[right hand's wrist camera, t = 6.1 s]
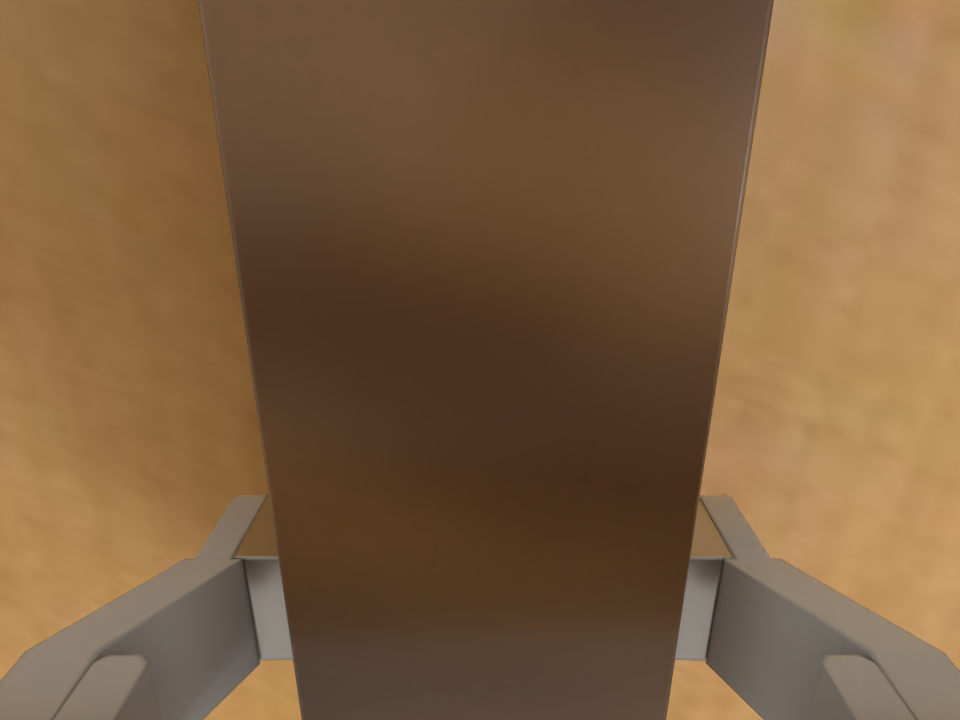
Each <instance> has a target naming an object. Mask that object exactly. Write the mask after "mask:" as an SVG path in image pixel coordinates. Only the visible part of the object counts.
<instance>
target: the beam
mask: <svg viewBox="0 0 960 720" xmlns="http://www.w3.org/2000/svg"><path fill="white" fill-rule="evenodd" d="M773 1H774V0H198V3H199V10H200V17H201V24H202V31H203V38H204V45H205V52H206V59H207V66H208V73H209V80H210V86H211V93H212V100H213V107H214V114H215V121H216V128H217V135H218V142H219V149H220V156H221V163H222V170H223V177H224V184H225V191H226V197H227V204H228V211H229V218H230V225H231V232H232V239H233V246H234V253H235V260H236V267H237V274H238V281H239V288H240V295H241V301H242V308H243V315H244V322H245V329H246V336H247V343H248V350H249V357H250V364H251V371H252V378H253V385H254V392H255V399H256V406H257V412H258V419H259V426H260V433H261V440H262V447H263V454H264V461H265V468H266V475H267V482H268V489H269V496H270V503H271V510H272V517H273V523H274V530H275V537H276V544H277V551H278V558H279V565H280V572H281V579H282V586H283V593H284V600H285V607H286V614H287V621H288V628H289V634H290V641H291V648H292V655H293V662H294V669H295V676H296V683H297V690H298V697H299V704H300V711H301V718H302V720H666V715H667V709H668V702H669V695H670V689H671V682H672V675H673V668H674V662H675V655H676V648H677V642H678V635H679V628H680V622H681V615H682V608H683V602H684V595H685V588H686V582H687V575H688V568H689V562H690V555H691V548H692V542H693V535H694V528H695V522H696V515H697V508H698V502H699V495H700V488H701V482H702V475H703V468H704V462H705V455H706V448H707V442H708V435H709V428H710V422H711V415H712V408H713V402H714V395H715V388H716V382H717V375H718V368H719V362H720V355H721V348H722V342H723V335H724V328H725V322H726V315H727V308H728V302H729V295H730V288H731V282H732V275H733V268H734V262H735V255H736V248H737V242H738V235H739V228H740V222H741V215H742V208H743V201H744V195H745V188H746V181H747V175H748V168H749V161H750V155H751V148H752V141H753V135H754V128H755V121H756V115H757V108H758V101H759V95H760V88H761V81H762V75H763V68H764V61H765V55H766V48H767V41H768V35H769V28H770V21H771V15H772V8H773Z"/></svg>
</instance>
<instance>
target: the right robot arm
mask: <svg viewBox="0 0 960 720" xmlns="http://www.w3.org/2000/svg"><path fill="white" fill-rule="evenodd" d="M260 660H293V655H292V648H291V641H290V634H289V628H288V621H287V614H286V607H285V600H284V593H283V586H282V579H281V572H280V565H279V558H278V551H277V544H276V537H275V530H274V523H273V517H272V510H271V503H270V496H269V495H238V496H236V497H234V498H233V499H232V501H231V502H230V504H229V505H228V507H227V509H226V510H225V512H224V513H223V515H222V516H221V518H220V520H219V521H218V523H217V524H216V526H215V528H214V529H213V531H212V532H211V534H210V536H209V537H208V539H207V540H206V542H205V544H204V545H203V547H202V548H201V550H200V552H199V553H198V555H197V556H196V558H195V559H184V560H183V561H181V562H179V563H177V564H176V565H174V566H172V567H171V568H169V569H167V570H165V571H164V572H162V573H160V574H158V575H157V576H155V577H153V578H152V579H150V580H148V581H146V582H145V583H143V584H141V585H139V586H138V587H136V588H134V589H132V590H131V591H129V592H127V593H126V594H124V595H122V596H120V597H119V598H117V599H115V600H113V601H112V602H110V603H108V604H107V605H105V606H103V607H101V608H100V609H98V610H96V611H94V612H93V613H91V614H89V615H88V616H86V617H84V618H82V619H81V620H79V621H77V622H75V623H74V624H72V625H70V626H69V627H67V628H65V629H63V630H62V631H60V632H58V633H56V634H55V635H53V636H51V637H50V638H48V639H46V640H44V641H43V642H41V643H39V644H37V645H36V646H34V647H32V648H30V649H29V650H27V651H25V652H24V653H23V655H22V656H21V657H20V658H19V659H18V661H17V662H16V663H15V664H14V665H13V667H12V668H11V669H10V670H9V671H8V673H7V674H6V675H5V676H4V677H3V679H2V680H1V681H0V720H203V719H204V718H205V717H206V716H207V715H208V714H209V713H210V712H211V711H212V710H213V709H214V708H215V707H216V706H217V705H218V704H219V703H220V702H221V701H222V700H223V699H224V698H225V697H227V696H228V695H229V694H230V693H231V692H232V691H233V690H234V689H235V688H236V687H237V686H238V685H239V684H240V683H241V682H242V681H243V680H244V679H245V678H246V677H247V676H248V675H249V674H250V673H251V672H252V671H253V670H254V669H255V668H256V667H257V666H258V665H259V664H260V662H259V661H260ZM675 660H705V661H706V664H707V665H708V666H709V667H710V668H711V669H713V670H714V671H715V672H716V673H717V674H718V675H719V676H720V677H721V678H722V679H723V680H724V681H725V682H726V683H727V684H728V685H729V686H730V687H731V688H732V689H733V690H734V691H735V692H736V693H737V694H738V695H739V696H740V697H741V698H742V699H743V700H744V701H745V702H746V703H747V704H748V705H749V706H750V707H751V708H752V709H753V710H754V711H755V712H756V713H758V714H759V715H760V716H761V717H762V718H763V719H764V720H960V671H959V670H958V668H957V667H956V666H955V665H954V664H953V662H952V661H951V660H950V659H949V658H948V656H947V655H946V654H945V653H944V652H942V651H940V650H939V649H937V648H935V647H933V646H932V645H930V644H928V643H926V642H925V641H923V640H921V639H920V638H918V637H916V636H914V635H913V634H911V633H909V632H907V631H906V630H904V629H902V628H900V627H899V626H897V625H895V624H893V623H892V622H890V621H888V620H886V619H885V618H883V617H881V616H880V615H878V614H876V613H874V612H873V611H871V610H869V609H867V608H866V607H864V606H862V605H860V604H859V603H857V602H855V601H853V600H852V599H850V598H848V597H846V596H845V595H843V594H841V593H840V592H838V591H836V590H834V589H833V588H831V587H829V586H827V585H826V584H824V583H822V582H820V581H819V580H817V579H815V578H813V577H812V576H810V575H808V574H806V573H805V572H803V571H801V570H800V569H798V568H796V567H794V566H793V565H791V564H789V563H787V562H786V561H784V560H782V559H771V557H770V556H769V554H768V553H767V551H766V550H765V548H764V547H763V545H762V543H761V542H760V540H759V539H758V537H757V536H756V534H755V533H754V531H753V530H752V528H751V527H750V525H749V523H748V522H747V520H746V519H745V517H744V516H743V514H742V513H741V511H740V510H739V508H738V506H737V505H736V503H735V502H734V500H733V499H732V497H730V496H728V495H726V494H722V495H699V502H698V508H697V515H696V522H695V528H694V535H693V542H692V548H691V555H690V562H689V568H688V575H687V582H686V588H685V595H684V602H683V608H682V615H681V622H680V628H679V635H678V642H677V648H676V655H675Z"/></svg>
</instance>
